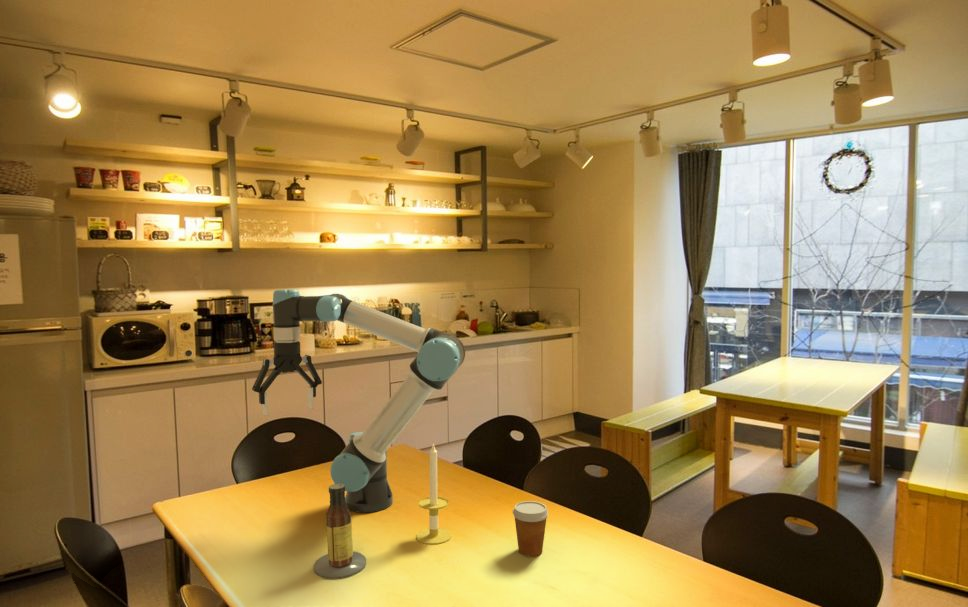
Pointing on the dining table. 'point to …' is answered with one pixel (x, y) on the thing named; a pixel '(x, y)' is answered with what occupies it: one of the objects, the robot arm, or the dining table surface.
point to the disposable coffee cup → (530, 526)
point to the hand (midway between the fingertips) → (288, 411)
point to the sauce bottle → (339, 528)
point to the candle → (433, 508)
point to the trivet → (328, 571)
